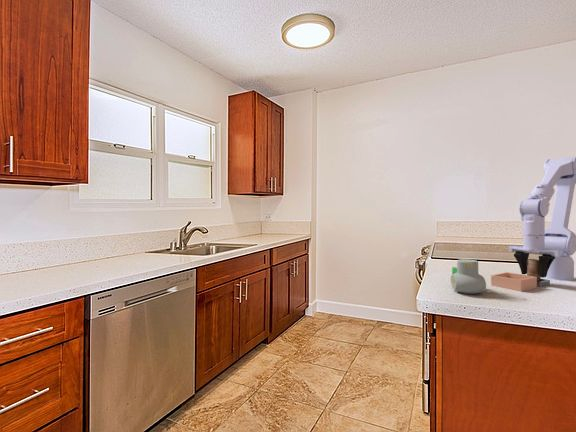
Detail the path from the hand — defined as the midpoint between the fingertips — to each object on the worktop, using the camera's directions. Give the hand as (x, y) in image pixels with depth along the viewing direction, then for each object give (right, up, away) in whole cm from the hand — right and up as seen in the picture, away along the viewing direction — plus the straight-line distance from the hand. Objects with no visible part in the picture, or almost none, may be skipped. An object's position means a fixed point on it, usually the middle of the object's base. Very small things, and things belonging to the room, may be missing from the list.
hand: (533, 275), depth 108 cm
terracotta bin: (-9, -4, -3) cm, 10 cm away
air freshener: (-25, -4, -5) cm, 26 cm away
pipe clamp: (-20, -4, +7) cm, 21 cm away
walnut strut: (0, -3, 0) cm, 3 cm away
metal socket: (0, -3, 0) cm, 3 cm away
